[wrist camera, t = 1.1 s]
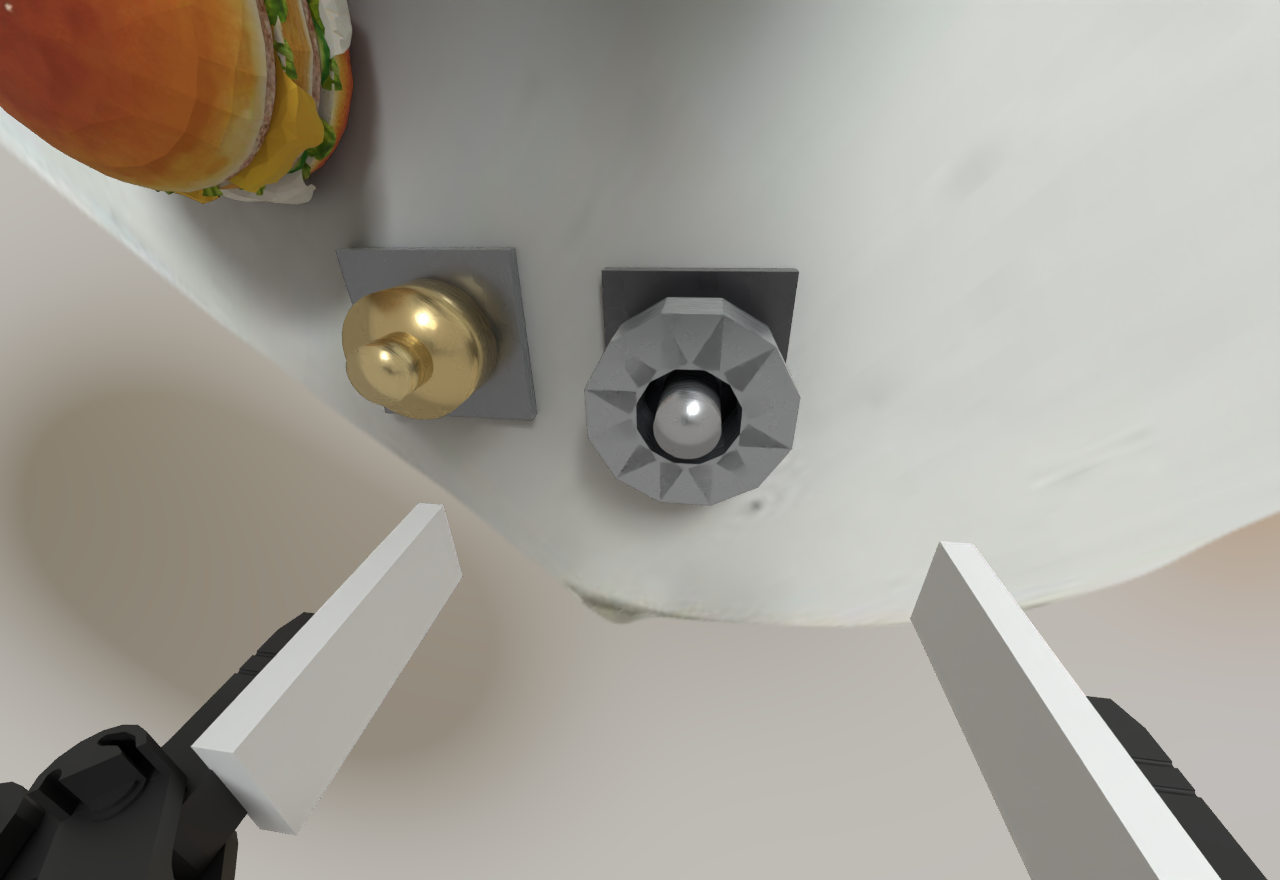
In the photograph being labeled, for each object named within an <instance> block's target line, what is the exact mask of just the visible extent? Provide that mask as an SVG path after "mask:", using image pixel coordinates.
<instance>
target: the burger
mask: <svg viewBox="0 0 1280 880" xmlns="http://www.w3.org/2000/svg"><path fill="white" fill-rule="evenodd" d="M351 36H352V26H351V20H350V14H349V9H348V3H347V0H0V106H1V107H2V108H3V109H4V110H5V111H6V112H7V113H8V114H10V115H11V116H12V117H14V118H15V119H16V120H18V121H19V122H20V123H22V124H23V125H24V126H26V127H27V128H28V129H30V130H31V131H32V132H34V133H35V134H36V135H38V136H39V137H41V138H42V139H43V140H45V141H46V142H47V143H49V144H50V145H51V146H53V147H54V148H56V149H58V150H59V151H61V152H63V153H64V154H66V155H68V156H69V157H71V158H73V159H75V160H77V161H79V162H81V163H83V164H85V165H87V166H89V167H91V168H93V169H95V170H97V171H99V172H101V173H103V174H105V175H107V176H109V177H112V178H115V179H117V180H120V181H123V182H126V183H130V184H134V185H138V186H142V187H146V188H150V189H154V190H156V191H157V192H159V191H165V192H166V193H167V194H168V195H169V194H172V193H177V194H181V195H184V196H187V197H189V198H191V199H193V200H196V201H198V202H200V203H202V204H204V203H207V202H210V201H213V200H215V199H218V198H219V197H220V196H224V197H227V198H230V199H233V200H239V201H245V202H259V201H267V202H273V203H281V204H303V203H306V202H309V201H310V200H311V199H312V196H313V191H314V190H315V189H316V187H315V186H314V185H312V184H311V185H309V186H306V185H305V184H304V181H305V180H306V179H308V178H309V177H310V174H311V173H313V172H314V171H316V170H317V169H319V168H320V167H322V166H323V165H324V163H325V162H326V161H327V160H328V158H329V157H330V156H331V154H332V153H333V152H334V151H335V149H336V147H337V145H338V143H339V141H340V139H341V137H342V135H343V133H344V131H345V129H346V127H347V122H348V116H349V110H350V104H351V98H352V91H353V78H352V70H351V61H350V52H349V47H350V43H351Z"/></svg>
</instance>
